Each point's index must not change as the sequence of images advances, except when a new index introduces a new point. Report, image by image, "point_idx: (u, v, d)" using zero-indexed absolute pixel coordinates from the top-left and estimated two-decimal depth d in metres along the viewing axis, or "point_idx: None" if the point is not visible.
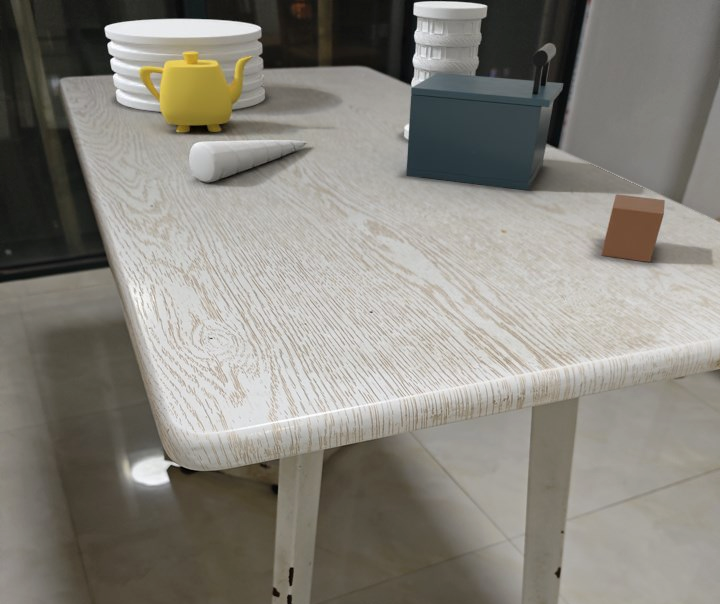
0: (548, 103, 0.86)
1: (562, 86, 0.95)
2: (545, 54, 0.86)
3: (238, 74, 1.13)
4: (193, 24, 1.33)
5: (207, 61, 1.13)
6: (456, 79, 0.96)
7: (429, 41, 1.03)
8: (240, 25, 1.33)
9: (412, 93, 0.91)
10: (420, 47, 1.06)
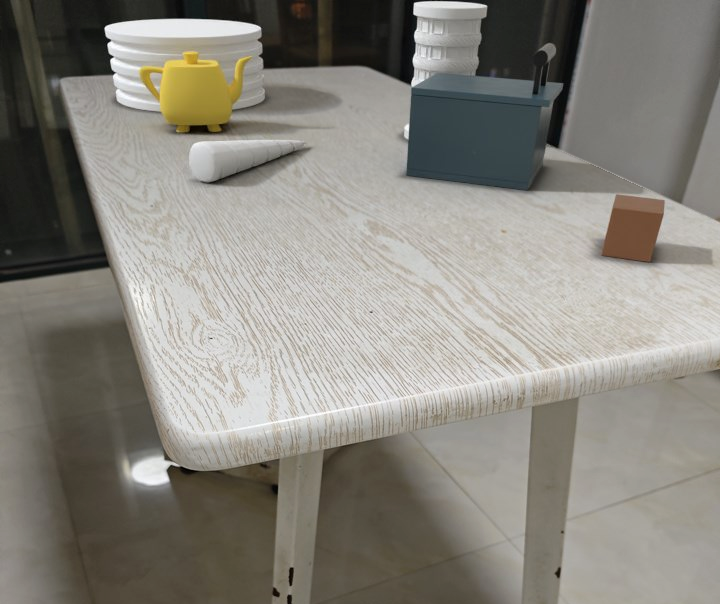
0: (548, 103, 0.86)
1: (562, 86, 0.95)
2: (545, 54, 0.86)
3: (238, 74, 1.13)
4: (193, 24, 1.33)
5: (207, 61, 1.13)
6: (456, 79, 0.96)
7: (429, 41, 1.03)
8: (240, 25, 1.33)
9: (412, 93, 0.91)
10: (420, 47, 1.06)
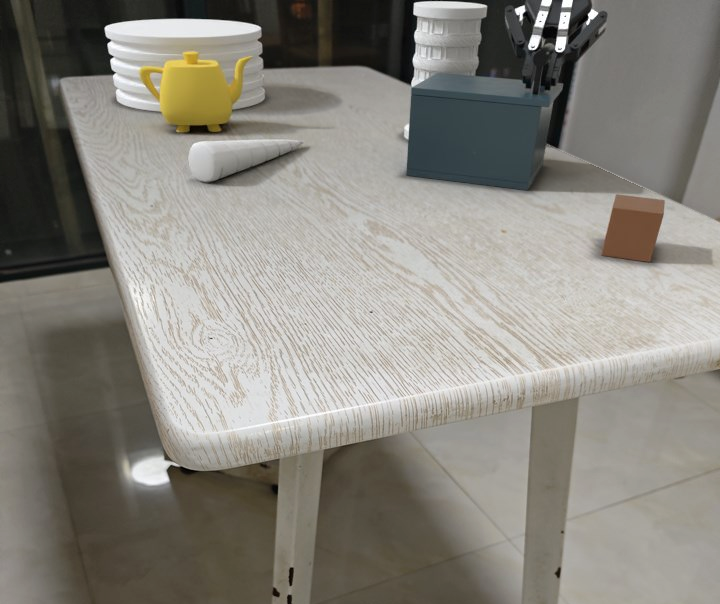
0: (548, 103, 0.86)
1: (562, 86, 0.95)
2: (545, 54, 0.86)
3: (238, 74, 1.13)
4: (193, 24, 1.33)
5: (207, 61, 1.13)
6: (456, 79, 0.96)
7: (429, 41, 1.03)
8: (240, 25, 1.33)
9: (412, 93, 0.91)
10: (420, 47, 1.06)
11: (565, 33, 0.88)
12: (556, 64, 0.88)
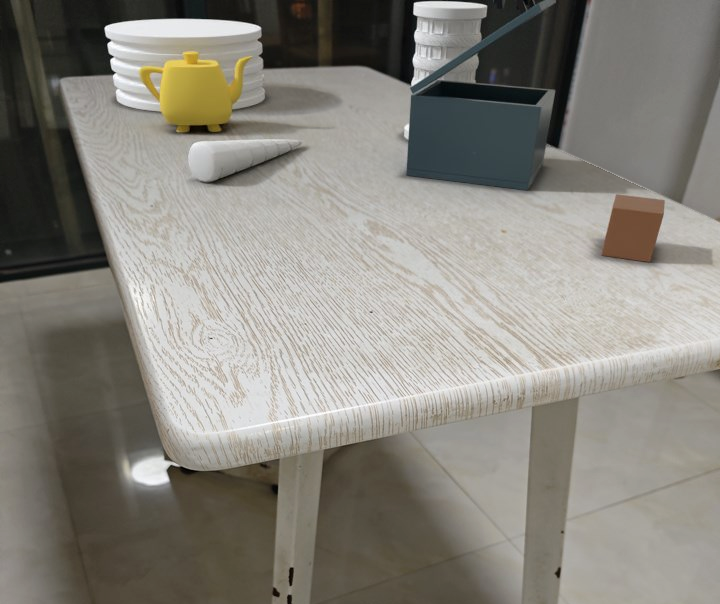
0: (538, 7, 0.81)
1: None
2: None
3: (238, 74, 1.13)
4: (193, 24, 1.33)
5: (207, 61, 1.13)
6: None
7: (429, 41, 1.03)
8: (240, 25, 1.33)
9: (413, 92, 0.91)
10: (420, 47, 1.06)
11: None
12: None
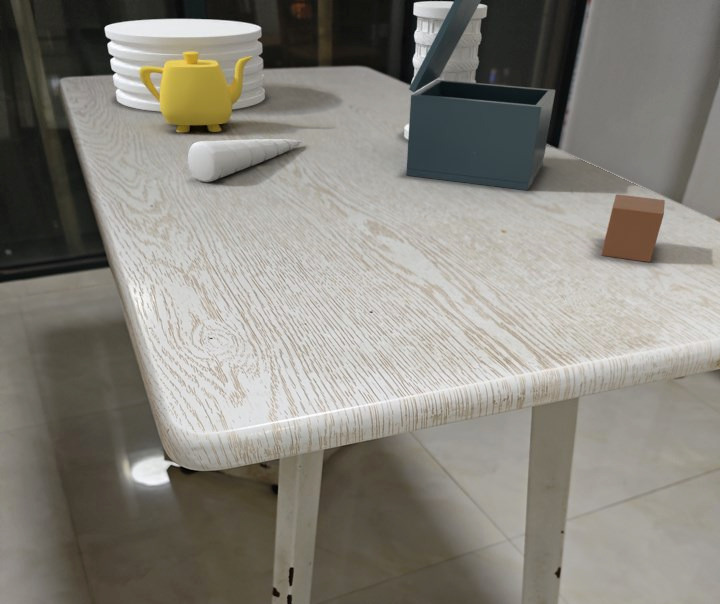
0: None
1: None
2: None
3: (238, 74, 1.13)
4: (193, 24, 1.33)
5: (207, 61, 1.13)
6: None
7: (429, 41, 1.03)
8: (240, 25, 1.33)
9: (413, 90, 0.91)
10: (420, 47, 1.06)
11: None
12: None
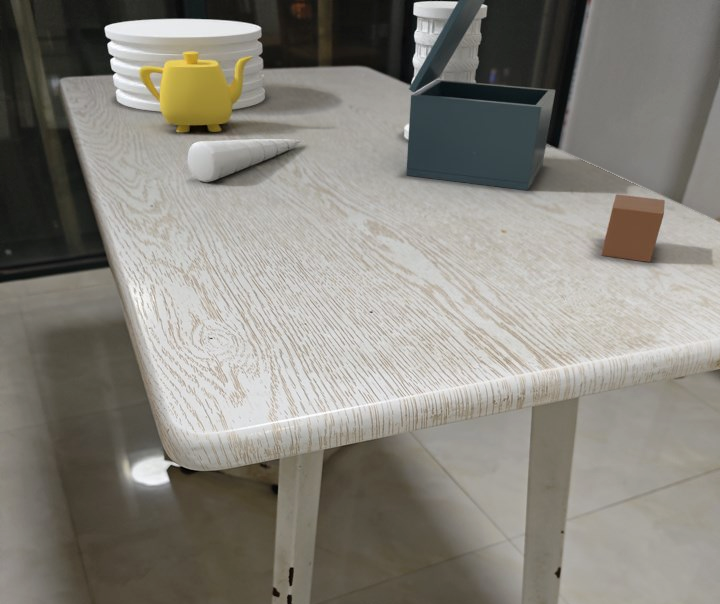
0: None
1: None
2: None
3: (238, 74, 1.13)
4: (193, 24, 1.33)
5: (207, 61, 1.13)
6: None
7: (429, 41, 1.03)
8: (240, 25, 1.33)
9: (413, 90, 0.91)
10: (420, 47, 1.06)
11: None
12: None
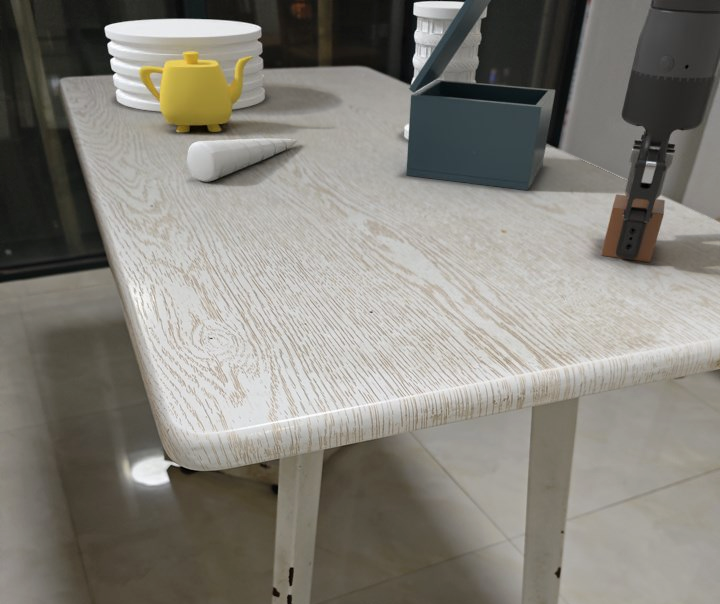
0: None
1: None
2: None
3: (238, 74, 1.13)
4: (193, 24, 1.33)
5: (207, 61, 1.13)
6: None
7: (429, 41, 1.03)
8: (240, 25, 1.33)
9: (413, 91, 0.91)
10: (420, 47, 1.06)
11: None
12: None
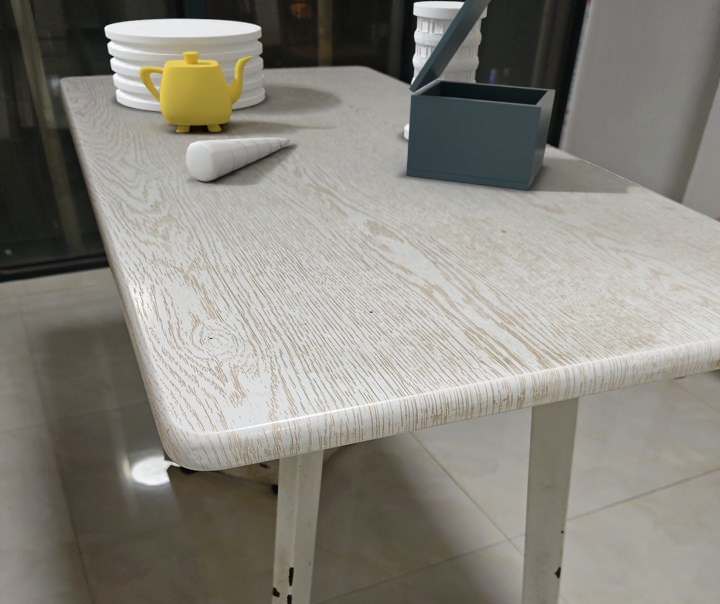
0: None
1: None
2: None
3: (238, 74, 1.13)
4: (193, 24, 1.33)
5: (207, 61, 1.13)
6: None
7: (429, 41, 1.03)
8: (240, 25, 1.33)
9: (413, 91, 0.91)
10: (420, 47, 1.06)
11: None
12: None
